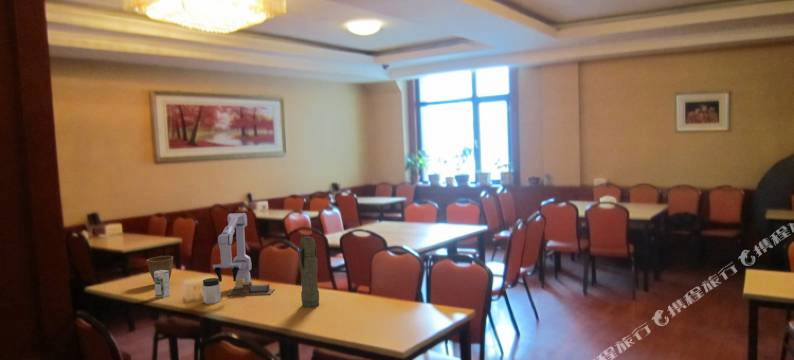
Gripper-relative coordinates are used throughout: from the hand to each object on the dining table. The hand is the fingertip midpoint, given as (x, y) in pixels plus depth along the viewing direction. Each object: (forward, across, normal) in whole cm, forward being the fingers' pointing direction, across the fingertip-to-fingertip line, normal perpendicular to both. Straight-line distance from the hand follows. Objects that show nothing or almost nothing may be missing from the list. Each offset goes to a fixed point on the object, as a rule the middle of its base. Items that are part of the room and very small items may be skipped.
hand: (227, 281), depth 314 cm
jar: (+10, -8, -3) cm, 13 cm away
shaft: (+9, +10, +12) cm, 18 cm away
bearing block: (+10, +9, +12) cm, 18 cm away
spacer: (+6, +3, +12) cm, 14 cm away
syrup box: (+10, -41, +12) cm, 44 cm away
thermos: (+10, +47, -16) cm, 51 cm away
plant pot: (+10, -54, +41) cm, 69 cm away
